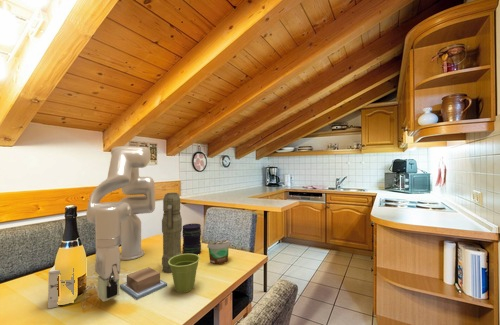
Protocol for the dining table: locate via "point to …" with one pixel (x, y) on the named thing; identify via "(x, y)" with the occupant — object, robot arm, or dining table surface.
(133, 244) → the robot arm
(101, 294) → the sage pillar block
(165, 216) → the thermos
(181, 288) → the plant pot
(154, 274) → the walnut plinth
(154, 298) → the dining table surface
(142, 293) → the blueprint mat
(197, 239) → the storage jar
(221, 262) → the food container
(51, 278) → the supplement box
